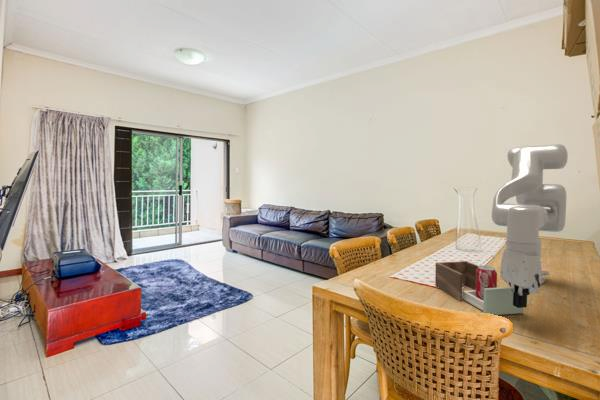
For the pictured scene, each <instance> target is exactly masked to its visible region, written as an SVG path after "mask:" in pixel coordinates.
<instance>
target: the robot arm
mask: <svg viewBox="0 0 600 400" xmlns="http://www.w3.org/2000/svg"><path fill="white" fill-rule="evenodd" d="M568 155H569V154H568V150H567V148H566V146H565V145H563V144H560V143H559V144H545V145H543V144H542V145H531V146H530V145H529V146H528V145H527V146H518V147H513V148H511V149H510V150H508V152H507V161H508V163H509V165H510V166H511V168H512V172H511V180H509V181H507V182H506V183H504V184H503V185H502V186H501V187H500V188H498V190H497V192H495V194H494V197H493V202H492V208H491V220H492V222H493V224H495V225H496V226H500V227H506V241H505V244H506V245H505V246H506V247H505V248H504V250H503V252H502V256H501V262H500V273H499V274H500V275H499V276H500V278H501V279H502V280H503V281H504V283H506V284H508V285H509V287H511V291H512V292H513V306H516V307H517V308H527V307H528V306H527V305H528V296H529V295H530V294H534V295H535V294H536V295H537V294H539V293H540V289H539V288H541V286H542V285H543V284H544V283H545V278H543V276H549V275H550V271H548V270H542V261H541V255H542V253H541V251H542V241H541V238H540V237H539V234H540V232H550V233H551V232H552V233H553V232H554V233H559V232H562V231H563V230H564V228H565V226H566V216H567V215H566V214H567V190H566V188H565V187H564V185H562V184H558V183H543V182H544V177H543V176H544V170H559V169H563V168H565V166H566V165H567V163H568ZM514 197H515V200H516V203H505V202H506V201H507V200H509V199H511V198H514Z"/></svg>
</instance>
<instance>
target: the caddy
mask: <svg viewBox="0 0 600 400" xmlns="http://www.w3.org/2000/svg"><path fill="white" fill-rule="evenodd" d="M478 266H479V264H476V263H472V262H470V261H468V260H465V261H464V260H460V261H444V262H435V277H434V278H435V279H434V280H435V282H434V284H435V285H436V286H437V287H436V286H435V287H436V288H438V287H439V288H440V289H439V288H438V289H439V290H441V291H442V292H444V293H446V294H448V295H449V296H451V297H452V298H454V299H456V300H457V301H459V302H463V299H462V294H463V285H462V284H466V285H467V286H466V285H465V286H466V287H468V288H470V289H472V290H476V270H477V269H478Z"/></svg>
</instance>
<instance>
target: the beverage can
mask: <svg viewBox="0 0 600 400" xmlns="http://www.w3.org/2000/svg"><path fill="white" fill-rule="evenodd" d="M497 283H498V273H497V271H496V269H495V267H492V266H487V265H478V269H477V270H476V293H475V297H477V298H479V299H481V300H483V301H484V288H498V285H497Z"/></svg>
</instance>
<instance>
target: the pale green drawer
mask: <svg viewBox="0 0 600 400" xmlns="http://www.w3.org/2000/svg"><path fill="white" fill-rule="evenodd" d="M475 293H476V290H474V289H472V290H462V300H464V301H466V302H467V303H468V304H470V305H472V306H474V307H475V308H477V309H479V310H481V311H483V313H490V314H495V315H494V316H501V315H514V314H524V308H525V307H524V308H517V307H516V306H513V292H512V291H511V287H510V286H501V287H499V286H498V287H497V288H484V301H483V300H481V299H479V298H477V297H475ZM483 313H482V314H483Z"/></svg>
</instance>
